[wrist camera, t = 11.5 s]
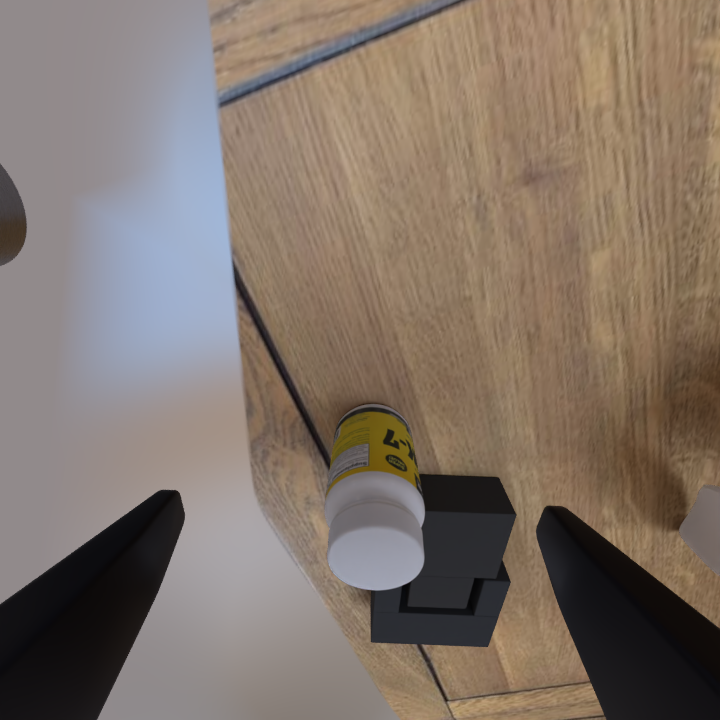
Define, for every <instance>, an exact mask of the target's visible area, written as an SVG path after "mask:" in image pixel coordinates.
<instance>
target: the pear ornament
mask: <svg viewBox="0 0 720 720" xmlns="http://www.w3.org/2000/svg"><path fill="white" fill-rule="evenodd" d="M679 533H680V536H681V538H682V539H683V540H684V542H685V543H686V544H687V545H688V546H689V547H690V548H691V549H692V550H693V552H694V553H695V554H696V555H697V556H698V557H699V558H700V559H701V560H702V561H703V562H704V563H705V564H706V565H707V566H708V567H709V568H710V569H711V570H712V571H713V572H715V573H716V574H717V575H719V576H720V487H718V486H715V485H703V487H702V488H701V489H700V490H699V493H698V496H697V499H696V502H695V503H694V505H693V507H692V509H691V510H690V512H689V513H688V515H687V516H686V518H685V519H684V521H683V522H682V524H681V526H680V528H679Z"/></svg>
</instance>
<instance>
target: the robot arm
mask: <svg viewBox="0 0 720 720" xmlns="http://www.w3.org/2000/svg"><path fill="white" fill-rule="evenodd" d="M184 520H185V512H184V508H183V504H182V500H181V496H180V493H179V492H178V491H176V490H160V491H158V492H156V493H155V494H154V495H152V496H151V497H149V498H148V499H147V500H145V501H144V502H142V503H141V504H140V505H138V506H137V507H135V508H134V509H133V510H131V511H130V512H129V513H127V514H126V515H124V516H123V517H122V518H120V519H119V520H117V521H116V522H114V523H113V524H112V525H110V526H109V527H108V528H106V529H105V530H103V531H102V532H100V533H99V534H98V535H96V536H95V537H94V538H92V539H91V540H89V541H88V542H87V543H85V544H84V545H82V546H81V547H80V548H78V549H77V550H75V551H74V552H73V553H71V554H70V555H68V556H67V557H66V558H64V559H63V560H61V561H60V562H59V563H57V564H56V565H55V566H53V567H52V568H50V569H49V570H47V571H46V572H45V573H43V574H42V575H41V576H39V577H38V578H36V579H35V580H33V581H32V582H31V583H29V584H28V585H26V586H25V587H24V588H22V589H21V590H19V591H18V592H17V593H15V594H14V595H13V596H11V597H10V598H8V599H7V600H5V601H4V602H3V603H1V604H0V720H97V719H98V716H99V714H100V712H101V710H102V708H103V706H104V704H105V702H106V700H107V698H108V696H109V694H110V691H111V689H112V687H113V685H114V683H115V681H116V679H117V677H118V675H119V673H120V671H121V669H122V667H123V665H124V662H125V660H126V658H127V656H128V654H129V652H130V650H131V648H132V646H133V644H134V642H135V639H136V637H137V635H138V633H139V631H140V629H141V627H142V625H143V623H144V621H145V619H146V617H147V615H148V612H149V610H150V608H151V606H152V604H153V602H154V600H155V598H156V595H157V593H158V591H159V588H160V586H161V583H162V581H163V578H164V576H165V572H166V570H167V567H168V565H169V562H170V559H171V557H172V554H173V551H174V548H175V546H176V543H177V540H178V538H179V535H180V532H181V530H182V527H183V524H184ZM536 535H537V540H538V543H539V546H540V549H541V552H542V555H543V559H544V562H545V565H546V568H547V571H548V574H549V577H550V581H551V584H552V587H553V590H554V593H555V596H556V599H557V602H558V605H559V607H560V610H561V612H562V615H563V617H564V620H565V622H566V624H567V627H568V629H569V632H570V634H571V636H572V639H573V641H574V643H575V646H576V648H577V651H578V653H579V655H580V658H581V660H582V662H583V665H584V667H585V669H586V672H587V674H588V677H589V679H590V681H591V684H592V686H593V688H594V691H595V693H596V696H597V698H598V700H599V703H600V705H601V707H602V710H603V712H604V715H605V717H606V719H607V720H720V628H718V627H717V626H716V625H714V624H713V623H712V622H711V621H709V620H708V619H707V618H706V617H704V616H703V615H702V614H700V613H699V612H698V611H697V610H695V609H694V608H693V607H692V606H690V605H689V604H688V603H686V602H685V601H684V600H683V599H681V598H680V597H679V596H678V595H676V594H675V593H674V592H672V591H671V590H670V589H669V588H667V587H666V586H665V585H664V584H662V583H661V582H660V581H658V580H657V579H656V578H655V577H653V576H652V575H651V574H650V573H648V572H647V571H646V570H644V569H643V568H642V567H641V566H639V565H638V564H637V563H636V562H634V561H633V560H632V559H630V558H629V557H628V556H627V555H625V554H624V553H623V552H622V551H620V550H619V549H618V548H616V547H615V546H614V545H613V544H611V543H610V542H609V541H608V540H606V539H605V538H604V537H602V536H601V535H600V534H599V533H597V532H596V531H595V530H594V529H592V528H591V527H590V526H588V525H587V524H586V523H585V522H583V521H582V520H581V519H580V518H578V517H577V516H576V515H574V514H573V513H572V512H571V511H569V510H568V509H567V508H565V507H562V506H546V507H545V508H544V510H543V513H542V515H541V518H540V520H539V523H538V525H537V529H536Z"/></svg>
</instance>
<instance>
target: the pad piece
mask: <svg viewBox="0 0 720 720" xmlns="http://www.w3.org/2000/svg"><path fill="white" fill-rule="evenodd" d="M419 478H420V483H421V488H422V494H423V498H424V506H425V517H424V522H423V525H422V527H421V530H422V533H423V548H424V564H423V567H422V569H421V571H420V573H419V574H418V575H417V576H416V577H415V578H414V579H413V580H412V581H410V582H408V583H407V584H405V590H406V600H407V606H410V607H435V608H460V609H465V608H466V607H467V603H468V599H469V596H470V592H471V589H472V585H473V582H474V578H493V579H496V577H497V574H498V571H499V567H500V564H501V561H502V558H503V555H504V552H505V549H506V546H507V543H508V540H509V536H510V533H511V530H512V527H513V524H514V521H515V518H516V513H515V511H514V509H513V507H512V504H511V502H510V500H509V498H508V496H507V494H506V492H505V490H504V488H503V485H502V483H501V481H500V479H499V478H494V477H469V476H443V475H419Z"/></svg>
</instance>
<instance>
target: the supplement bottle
mask: <svg viewBox="0 0 720 720" xmlns="http://www.w3.org/2000/svg"><path fill="white" fill-rule="evenodd" d="M424 517H425V506H424V498H423V494H422V488H421V483H420V478H419V472H418V466H417V462H416V457H415V451H414V446H413V440H412V435H411V431H410V427H409V425H408V423H407V421H406V420H405V419H404V418H403V416H402V415H400V414H399V413H398V412H397V411H395V410H394V409H392V408H390V407H387V406H384V405H379V404H367V405H362V406H359V407H356V408H354V409H352V410H350V411H349V412H348V413H346V414H345V415H344V416H343V417H342V418H341V420H340V421H339V423H338V425H337V428H336V431H335V436H334V444H333V450H332V457H331V464H330V471H329V478H328V486H327V492H326V499H325V518H326V521H327V524H328V526H329V528H330V529H329V539H328V551H327V560H328V564H329V567H330V569H331V570H332V572H333V573H334V574H335V575H336V576H337V577H338V578H339V579H340V580H342V581H343V582H345V583H347V584H349V585H351V586H354V587H357V588H360V589H366V590H388V589H393V588H397V587H400V586H402V585H404V584H407V583H408V582H410V581H412V580H413V579H414V578H415V577H416V576H417V575H418V574H419V573H420V571H421V569H422V567H423V564H424V548H423V533H422V530H421V527H422V525H423V522H424Z"/></svg>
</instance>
